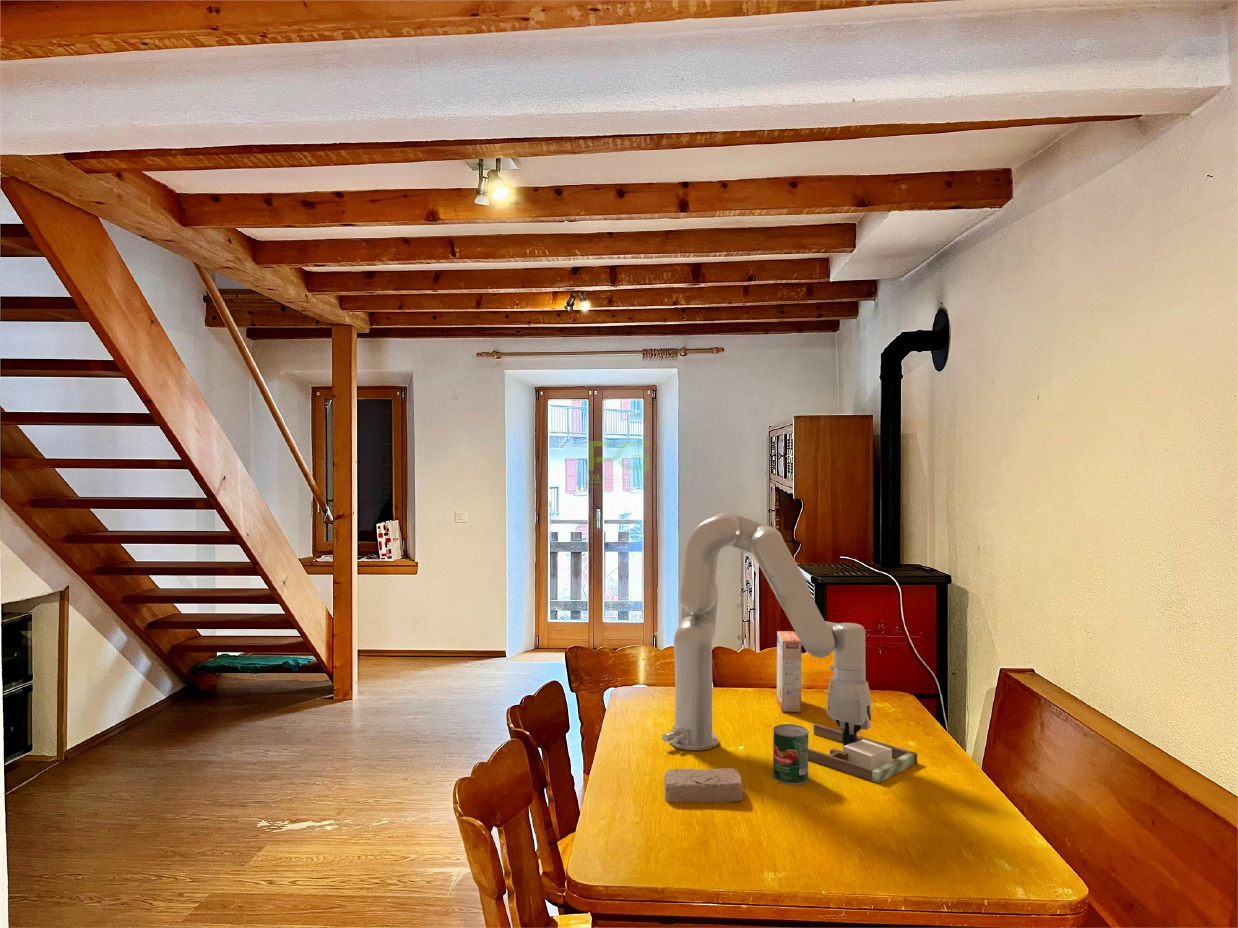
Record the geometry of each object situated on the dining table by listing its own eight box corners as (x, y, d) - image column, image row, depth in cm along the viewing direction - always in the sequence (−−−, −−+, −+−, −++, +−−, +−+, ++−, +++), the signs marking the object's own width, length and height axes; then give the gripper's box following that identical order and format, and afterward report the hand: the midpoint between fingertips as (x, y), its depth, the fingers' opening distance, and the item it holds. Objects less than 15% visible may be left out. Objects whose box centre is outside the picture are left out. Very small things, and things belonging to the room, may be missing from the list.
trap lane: (878, 783, 171) (878, 772, 171) (776, 749, 192) (775, 739, 192) (917, 762, 183) (917, 752, 183) (816, 732, 204) (816, 723, 204)
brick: (665, 803, 161) (665, 781, 161) (663, 787, 169) (664, 765, 169) (743, 804, 161) (743, 782, 161) (738, 788, 169) (738, 767, 169)
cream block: (870, 773, 177) (870, 756, 177) (842, 762, 184) (842, 745, 184) (891, 765, 182) (891, 748, 182) (863, 755, 189) (863, 739, 189)
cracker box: (802, 713, 220) (802, 640, 220) (781, 712, 220) (781, 640, 221) (796, 698, 234) (796, 630, 234) (776, 698, 234) (776, 630, 235)
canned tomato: (770, 781, 172) (770, 733, 172) (775, 768, 179) (775, 722, 179) (806, 786, 169) (806, 737, 169) (810, 773, 176) (810, 726, 176)
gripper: (814, 670, 192) (815, 743, 192) (869, 683, 181) (869, 760, 180) (831, 665, 197) (831, 736, 197) (885, 677, 186) (885, 752, 186)
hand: (849, 747), depth 189 cm, fingers closed
